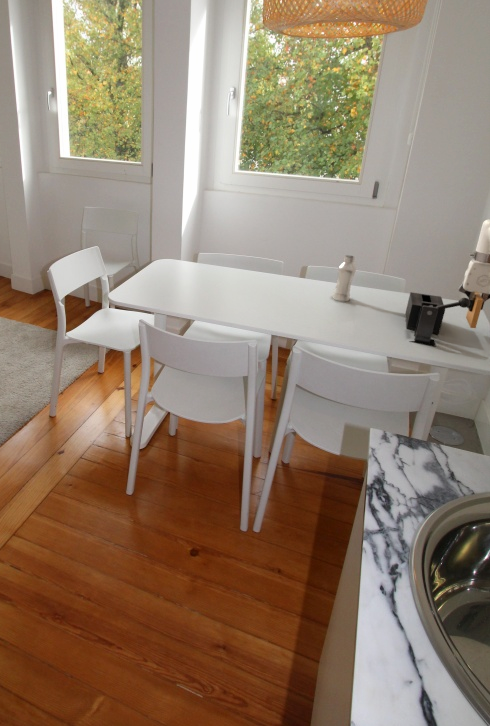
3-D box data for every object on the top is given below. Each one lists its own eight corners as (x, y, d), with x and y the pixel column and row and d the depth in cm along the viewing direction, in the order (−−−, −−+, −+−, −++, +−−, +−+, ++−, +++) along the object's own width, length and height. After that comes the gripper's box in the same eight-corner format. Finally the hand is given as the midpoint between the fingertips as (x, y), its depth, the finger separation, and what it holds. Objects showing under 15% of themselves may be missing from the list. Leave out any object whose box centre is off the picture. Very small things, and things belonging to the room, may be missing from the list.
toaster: (434, 324, 174) (441, 296, 170) (437, 338, 162) (445, 309, 158) (403, 319, 178) (410, 292, 174) (405, 333, 166) (412, 304, 162)
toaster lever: (470, 304, 150) (468, 295, 150) (472, 307, 148) (469, 298, 147) (425, 313, 157) (422, 304, 156) (425, 316, 154) (423, 308, 154)
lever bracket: (433, 340, 161) (442, 303, 156) (435, 349, 154) (445, 311, 149) (407, 335, 164) (415, 299, 159) (407, 344, 157) (417, 306, 152)
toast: (470, 318, 164) (478, 291, 160) (475, 328, 155) (483, 300, 152) (465, 317, 164) (472, 290, 161) (470, 327, 156) (477, 299, 152)
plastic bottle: (351, 304, 191) (362, 258, 183) (338, 307, 189) (349, 260, 180) (340, 298, 197) (350, 253, 188) (327, 300, 194) (337, 254, 186)
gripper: (461, 257, 152) (448, 310, 158) (520, 263, 146) (504, 318, 152) (458, 252, 158) (445, 303, 165) (514, 258, 152) (499, 311, 158)
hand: (473, 310), depth 158 cm, fingers closed on toast, 1 cm apart
